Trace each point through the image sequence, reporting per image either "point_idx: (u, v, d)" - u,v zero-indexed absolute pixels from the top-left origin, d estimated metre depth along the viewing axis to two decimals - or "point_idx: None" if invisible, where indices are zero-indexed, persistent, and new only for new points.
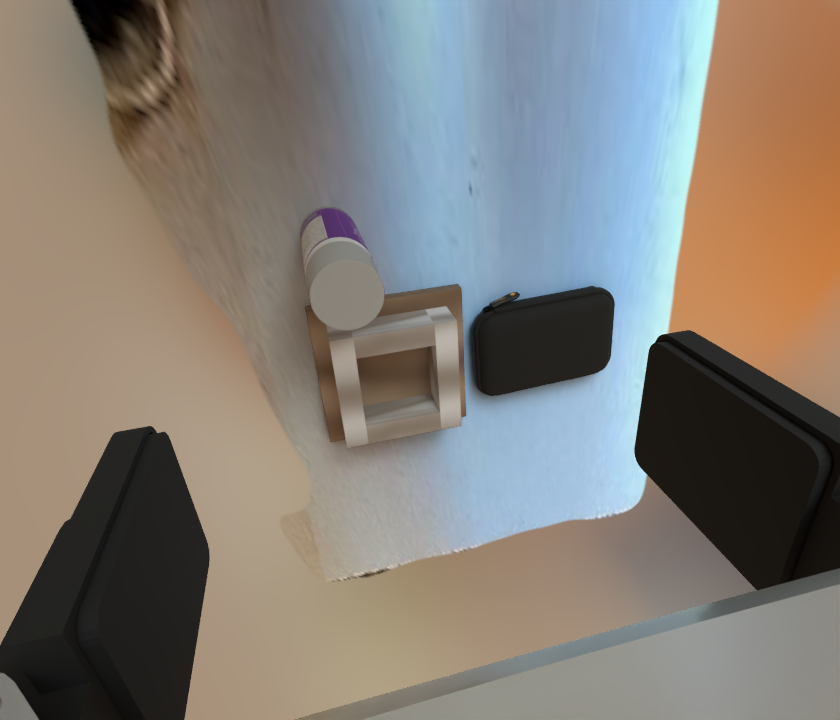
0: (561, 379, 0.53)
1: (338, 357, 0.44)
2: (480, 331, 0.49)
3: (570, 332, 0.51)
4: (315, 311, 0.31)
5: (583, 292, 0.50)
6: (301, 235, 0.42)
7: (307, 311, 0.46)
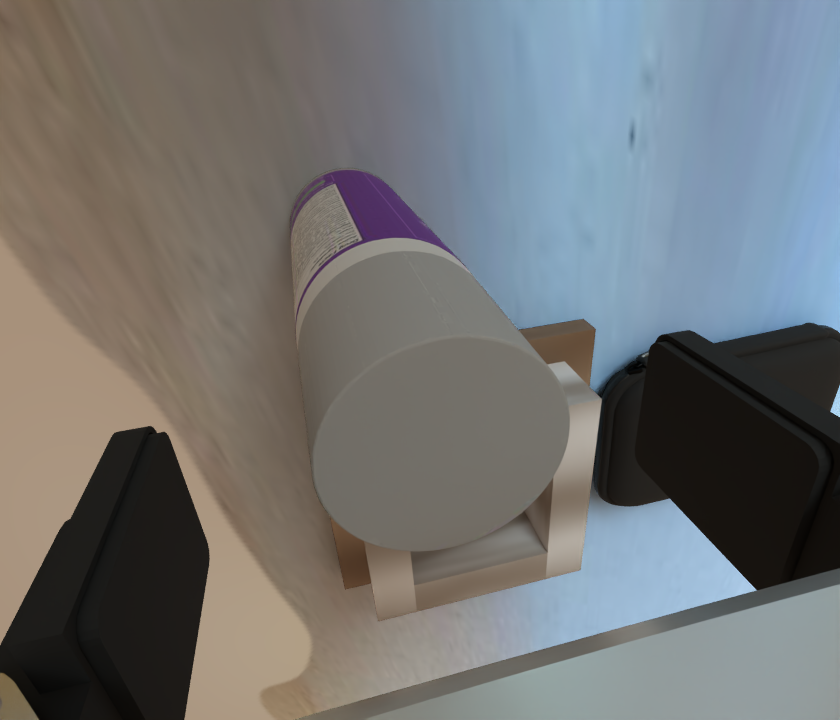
0: None
1: None
2: (621, 408, 0.27)
3: None
4: (332, 509, 0.09)
5: (802, 336, 0.28)
6: (291, 228, 0.19)
7: None
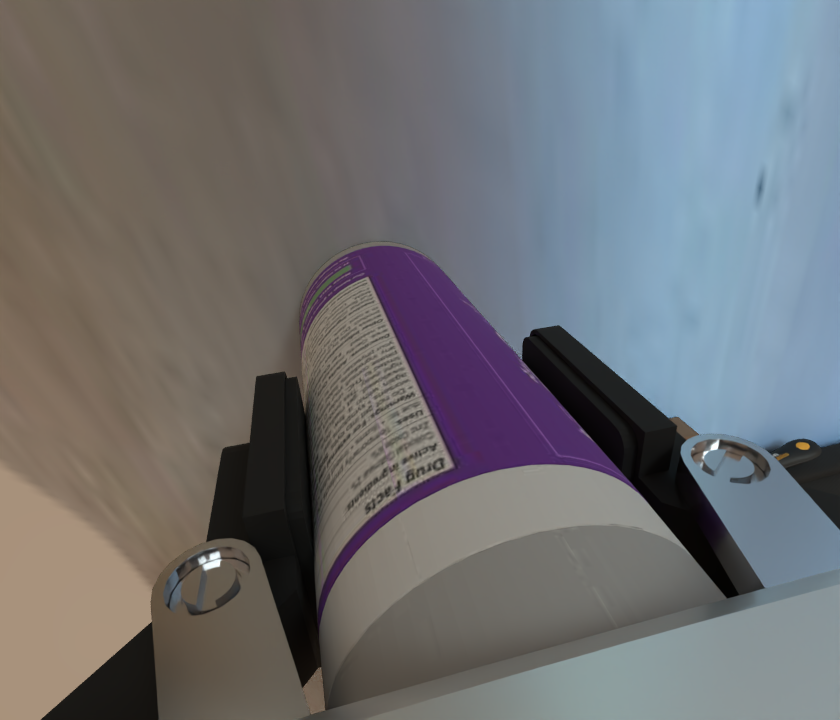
0: None
1: None
2: None
3: None
4: None
5: None
6: (301, 334, 0.13)
7: None
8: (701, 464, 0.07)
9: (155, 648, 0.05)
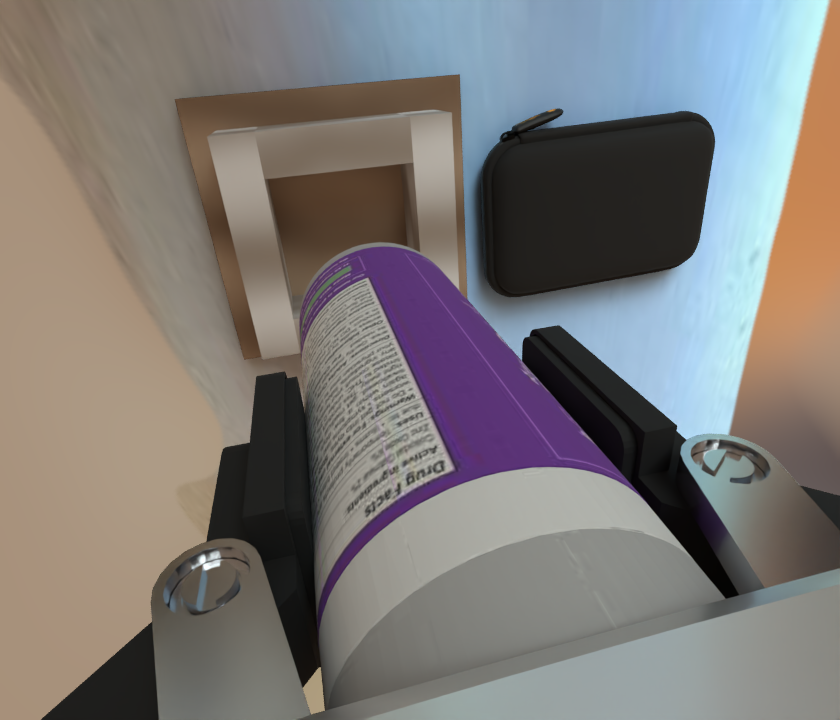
0: (623, 271, 0.33)
1: (228, 173, 0.24)
2: (496, 174, 0.29)
3: (644, 185, 0.31)
4: None
5: (668, 116, 0.30)
6: (301, 335, 0.13)
7: (178, 99, 0.25)
8: (701, 464, 0.07)
9: (155, 648, 0.05)
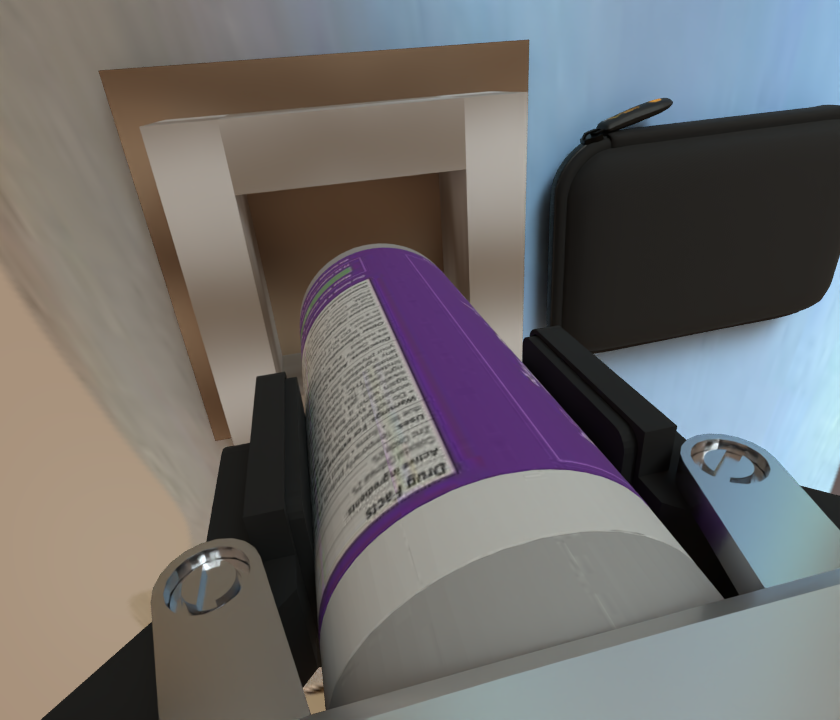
0: (732, 322, 0.25)
1: (177, 185, 0.15)
2: (576, 191, 0.20)
3: (775, 207, 0.22)
4: None
5: (812, 111, 0.22)
6: (301, 336, 0.13)
7: (104, 71, 0.16)
8: (701, 464, 0.07)
9: (155, 648, 0.05)
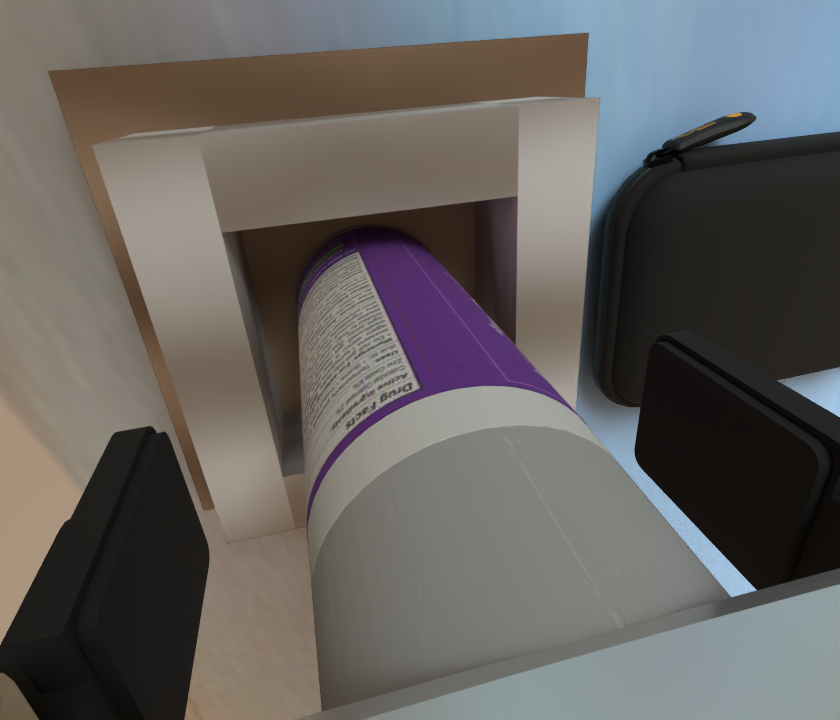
0: (809, 370, 0.21)
1: (144, 221, 0.11)
2: (638, 222, 0.17)
3: None
4: None
5: None
6: (298, 306, 0.14)
7: (55, 71, 0.13)
8: None
9: None
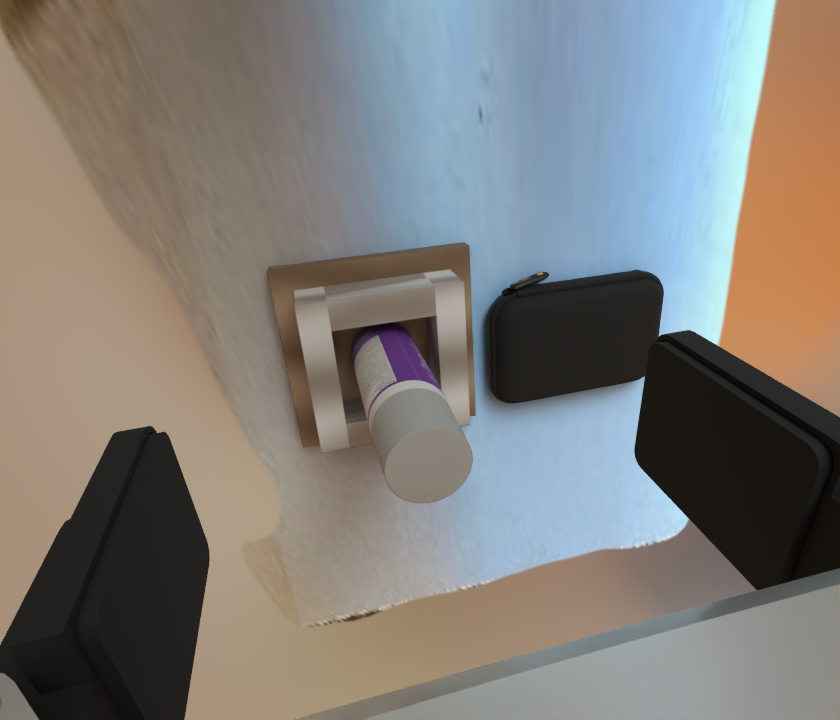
0: (596, 385, 0.43)
1: (307, 328, 0.33)
2: (499, 319, 0.39)
3: (609, 325, 0.41)
4: (390, 485, 0.26)
5: (627, 276, 0.41)
6: (353, 355, 0.37)
7: (269, 271, 0.35)
8: None
9: None
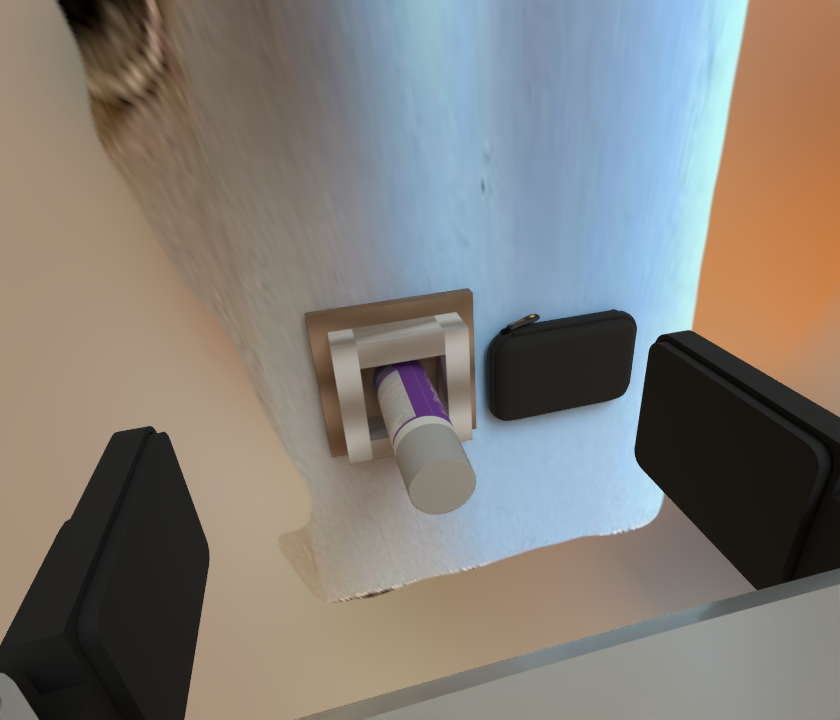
0: (578, 405, 0.51)
1: (340, 367, 0.41)
2: (497, 354, 0.47)
3: (590, 357, 0.49)
4: (413, 501, 0.34)
5: (605, 316, 0.48)
6: (376, 384, 0.44)
7: (307, 318, 0.42)
8: None
9: None
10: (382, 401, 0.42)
